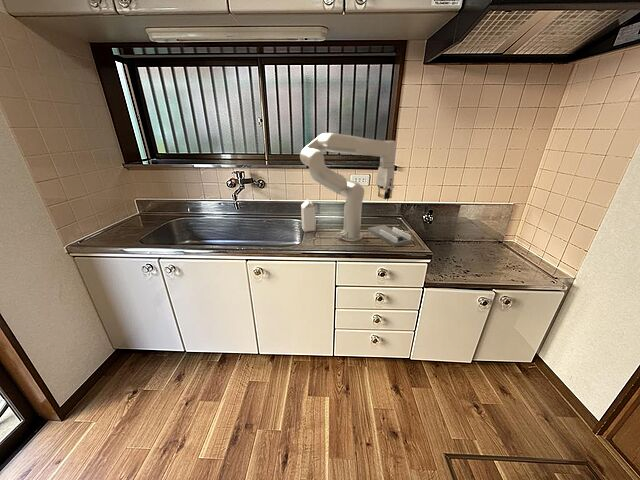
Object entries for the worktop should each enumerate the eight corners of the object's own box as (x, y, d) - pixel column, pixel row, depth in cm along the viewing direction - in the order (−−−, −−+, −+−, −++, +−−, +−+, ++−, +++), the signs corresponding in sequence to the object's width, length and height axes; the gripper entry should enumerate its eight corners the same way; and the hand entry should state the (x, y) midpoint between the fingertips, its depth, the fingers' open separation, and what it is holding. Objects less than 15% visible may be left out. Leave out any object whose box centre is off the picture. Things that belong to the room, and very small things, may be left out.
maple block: (384, 199, 143) (385, 190, 141) (379, 197, 147) (379, 188, 145) (391, 198, 145) (392, 189, 143) (386, 196, 149) (387, 187, 147)
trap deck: (393, 246, 135) (394, 239, 133) (367, 230, 156) (368, 224, 154) (411, 243, 140) (412, 235, 138) (383, 227, 161) (384, 221, 159)
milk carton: (304, 232, 155) (303, 201, 147) (301, 228, 161) (300, 198, 154) (315, 230, 157) (315, 200, 149) (312, 226, 163) (312, 197, 156)
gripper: (372, 163, 144) (369, 195, 152) (391, 167, 130) (387, 202, 137) (383, 162, 147) (380, 193, 154) (402, 166, 133) (398, 200, 140)
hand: (383, 197), depth 146 cm, fingers closed on maple block, 5 cm apart
